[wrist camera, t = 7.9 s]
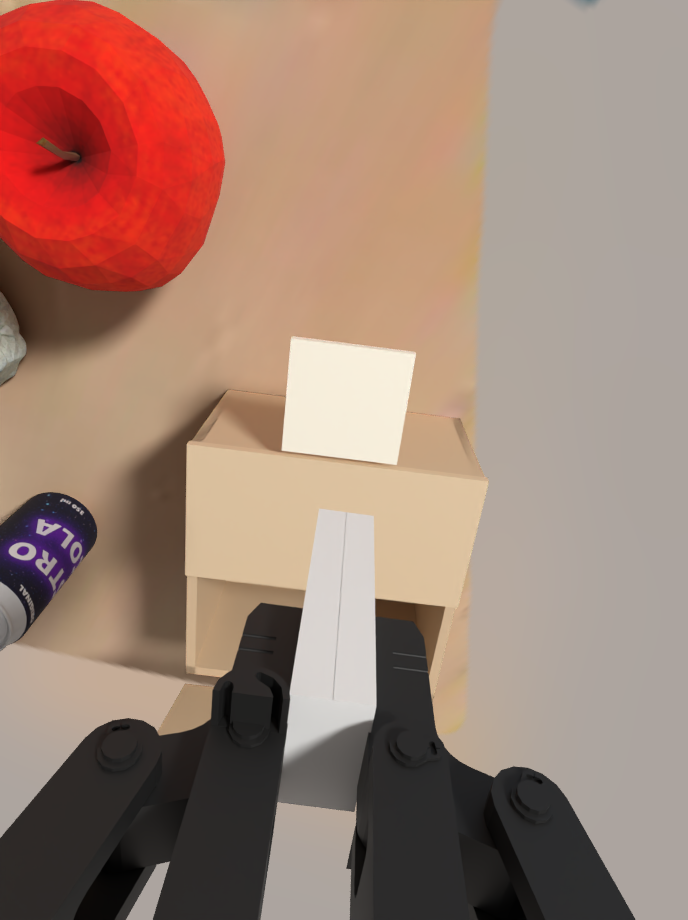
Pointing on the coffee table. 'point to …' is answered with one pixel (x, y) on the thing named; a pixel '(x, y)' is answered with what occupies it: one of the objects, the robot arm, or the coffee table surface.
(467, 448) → the carton
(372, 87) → the coffee table surface
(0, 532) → the beverage can
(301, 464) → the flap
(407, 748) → the robot arm
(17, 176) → the apple
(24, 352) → the decorative stone
